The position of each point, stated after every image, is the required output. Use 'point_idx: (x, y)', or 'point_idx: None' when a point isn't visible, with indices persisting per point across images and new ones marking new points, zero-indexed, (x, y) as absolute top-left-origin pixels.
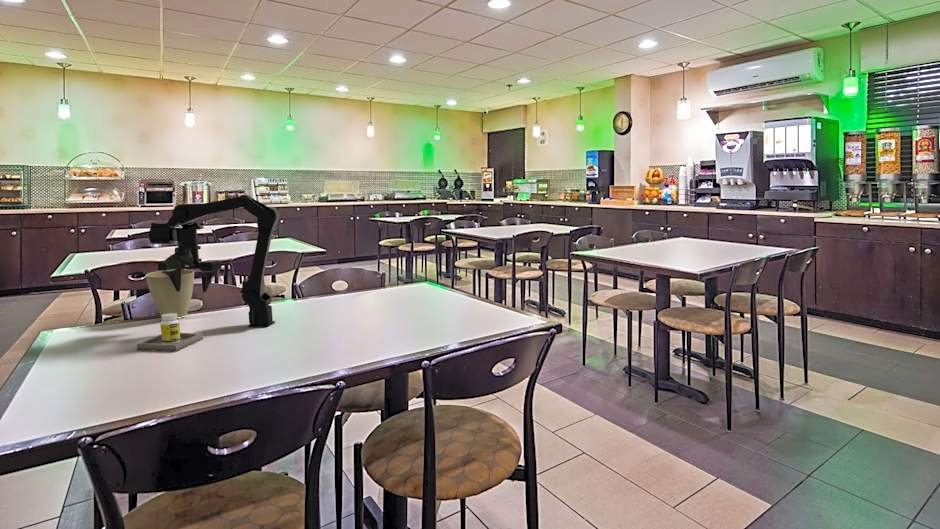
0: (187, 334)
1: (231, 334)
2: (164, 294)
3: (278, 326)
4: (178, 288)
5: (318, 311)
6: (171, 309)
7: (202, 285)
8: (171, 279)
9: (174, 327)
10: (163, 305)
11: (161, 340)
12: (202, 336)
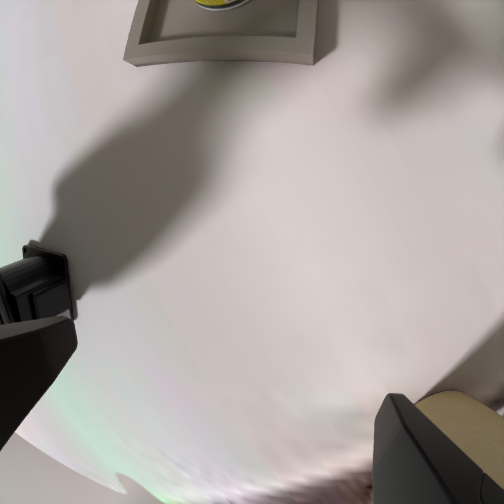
0: (183, 39)
1: (72, 150)
2: (494, 452)
3: (13, 259)
4: (388, 427)
5: None
6: (445, 415)
7: (10, 334)
8: (502, 499)
9: None
10: (482, 416)
11: (289, 2)
12: (130, 61)
